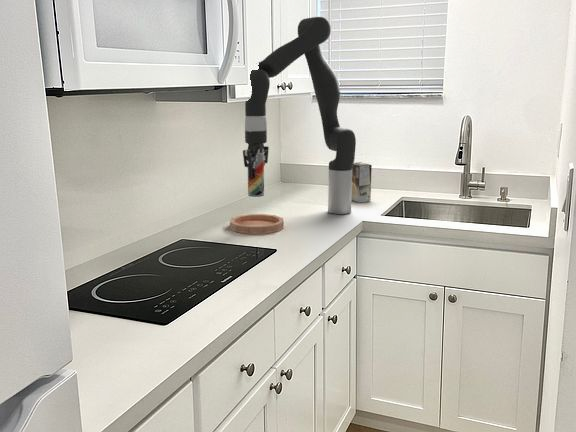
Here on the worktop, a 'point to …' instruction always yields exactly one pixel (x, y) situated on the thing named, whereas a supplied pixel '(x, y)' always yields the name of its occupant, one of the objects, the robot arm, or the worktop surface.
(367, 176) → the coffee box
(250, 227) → the round tray
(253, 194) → the lotion bottle
